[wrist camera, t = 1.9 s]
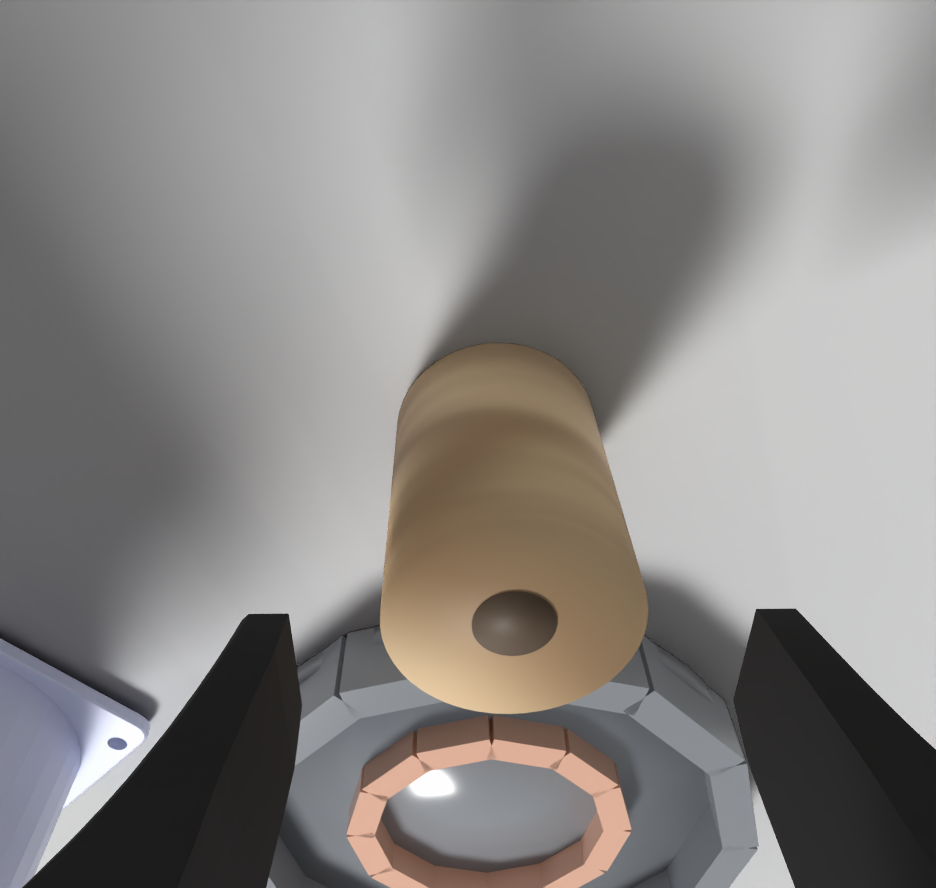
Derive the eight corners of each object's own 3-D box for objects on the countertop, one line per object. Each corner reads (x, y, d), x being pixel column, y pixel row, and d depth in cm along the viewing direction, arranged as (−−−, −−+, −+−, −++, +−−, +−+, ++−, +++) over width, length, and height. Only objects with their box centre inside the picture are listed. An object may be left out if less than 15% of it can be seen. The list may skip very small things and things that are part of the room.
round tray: (483, 970, 31) (485, 1031, 30) (134, 797, 26) (113, 859, 24) (834, 785, 26) (861, 846, 24) (494, 509, 20) (498, 565, 18)
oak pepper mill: (493, 541, 21) (508, 749, 16) (356, 433, 19) (323, 628, 14) (634, 430, 19) (703, 622, 14) (498, 302, 17) (521, 467, 12)
